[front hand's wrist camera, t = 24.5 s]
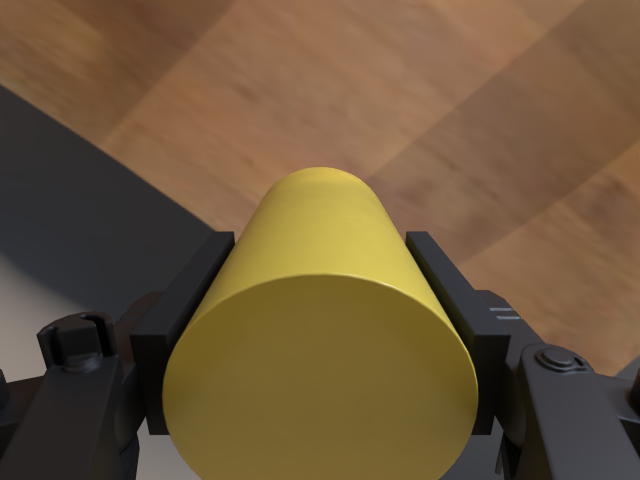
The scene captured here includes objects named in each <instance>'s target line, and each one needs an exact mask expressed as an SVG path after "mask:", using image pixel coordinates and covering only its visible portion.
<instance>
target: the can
mask: <svg viewBox="0 0 640 480" xmlns="http://www.w3.org/2000/svg"><path fill="white" fill-rule="evenodd" d="M162 402H163V413H164V417H165V422H166V426H167V429H168V431H169V434H170V436H171V439H172V441H173V443H174V445H175V447H176V448H177V450H178V452H179V453H180V455H181V457H182V458H183V459H184V460H185V462H186V463H187V464H188V465H189V467H190V468H191V469H192V470H193V471H194V472H195V473H196V474H197V475H198V476H199V477H200V478H201V479H202V480H438V479H439V478H440V477H442V476H443V475H444V474H445V473H446V472H447V470H448V469H449V468H450V467H451V466H452V465H453V464H454V463H455V461H456V460H457V458H458V457H459V455H460V454H461V452H462V451H463V450H464V448H465V446H466V444H467V442H468V440H469V438H470V435H471V433H472V430H473V427H474V423H475V420H476V415H477V408H478V383H477V378H476V373H475V368H474V366H473V363H472V360H471V358H470V355H469V353H468V351H467V349H466V347H465V345H464V344H463V342H462V340H461V339H460V337H459V335H458V334H457V332H456V330H455V328H454V327H453V325H452V323H451V322H450V320H449V318H448V317H447V315H446V313H445V312H444V310H443V308H442V306H441V305H440V303H439V301H438V300H437V298H436V296H435V295H434V293H433V291H432V289H431V288H430V286H429V284H428V283H427V281H426V279H425V278H424V276H423V274H422V272H421V271H420V269H419V267H418V266H417V264H416V262H415V261H414V259H413V257H412V256H411V254H410V252H409V250H408V249H407V247H406V245H405V244H404V242H403V240H402V239H401V237H400V235H399V233H398V232H397V230H396V228H395V227H394V225H393V223H392V222H391V220H390V218H389V217H388V215H387V213H386V211H385V210H384V208H383V206H382V205H381V203H380V201H379V200H378V198H377V196H376V195H375V194H374V192H373V191H372V190H371V189H370V188H369V187H368V186H367V185H366V184H365V183H364V182H362V181H361V180H360V179H358V178H357V177H355V176H353V175H351V174H349V173H347V172H344V171H341V170H338V169H333V168H325V167H316V168H308V169H303V170H299V171H296V172H294V173H292V174H289V175H287V176H285V177H284V178H282V179H281V180H279V181H278V182H277V183H276V184H274V185H273V186H272V187H271V188H270V189H269V191H268V192H267V193H266V194H265V196H264V197H263V199H262V200H261V202H260V204H259V205H258V207H257V209H256V210H255V212H254V214H253V215H252V217H251V219H250V220H249V222H248V224H247V225H246V227H245V229H244V231H243V232H242V234H241V236H240V237H239V239H238V241H237V242H236V244H235V246H234V247H233V249H232V251H231V252H230V254H229V256H228V258H227V259H226V261H225V263H224V264H223V266H222V268H221V269H220V271H219V273H218V274H217V276H216V278H215V279H214V281H213V283H212V285H211V286H210V288H209V290H208V291H207V293H206V295H205V296H204V298H203V300H202V301H201V303H200V305H199V306H198V308H197V310H196V312H195V313H194V315H193V317H192V318H191V320H190V322H189V323H188V325H187V327H186V328H185V330H184V332H183V333H182V335H181V337H180V339H179V340H178V342H177V344H176V345H175V348H174V350H173V352H172V354H171V356H170V358H169V360H168V364H167V367H166V371H165V375H164V379H163V389H162Z"/></svg>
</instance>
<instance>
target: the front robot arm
mask: <svg viewBox="0 0 640 480" xmlns="http://www.w3.org/2000/svg"><path fill="white" fill-rule="evenodd" d="M405 245H406V247H407V249H408V250H409V252H410V254H411V256H412V257H413V259H414V261H415V262H416V264H417V266H418V267H419V269H420V271H421V272H422V274H423V276H424V278H425V279H426V281H427V283H428V284H429V286H430V288H431V289H432V291H433V293H434V295H435V296H436V298H437V300H438V301H439V303H440V305H441V306H442V308H443V310H444V312H445V313H446V315H447V317H448V318H449V320H450V322H451V323H452V325H453V327H454V328H455V330H456V332H457V334H458V335H459V337H460V339H461V340H462V342H463V344H464V345H465V347H466V349H467V351H468V353H469V355H470V358H471V360H472V363H473V366H474V368H475V373H476V378H477V383H478V408H477V415H476V420H475V423H474V427H473V430H472V433H471V435H491V431H492V426H493V421H494V416H496V418H497V420H498V421H499V423H500V425H501V427H502V428H503V430H504V431H503V436H502V441H501V445H500V450H499V454H498V459H497V463H496V469H495V473H496V474H501V469H502V466H503V471H504V479H505V480H640V368H639V370H638V373H637V376H636V378H635V381H630V380H625V379H620V378H615V377H610V376H605V375H600V374H596V373H595V372H594V370H593V368H592V367H591V366H590V364H589V363H588V362H587V361H586V360H585V359H583V358H582V357H580V356H579V355H577V354H576V353H574V352H572V351H569V350H567V349H565V348H563V347H559V346H555V345H551V344H545V342H544V341H543V340H542V339H541V338H540V337H539V336H538V335H537V334H536V333H535V332H534V331H533V330H532V329H531V327H530V326H529V325H528V324H527V323H526V322H525V321H524V320H523V319H521V317H520V316H519V315H518V313H517V312H516V311H513V308H512V307H511V306H510V305H509V304H508V303H507V302H506V301H505V299H503V298H502V297H500V296H498V295H496V294H495V293H493V292H491V291H489V290H474V289H473V287H472V286H471V285H470V284H469V282H468V281H467V280H466V279H465V278H464V276H463V275H462V274H461V273H460V271H459V270H458V269H457V268H456V267H455V265H454V264H453V263H452V262H451V260H450V259H449V258H448V257H447V256H446V254H445V253H444V252H443V251H442V249H441V248H440V247H439V246H438V245H437V243H436V242H435V241H434V240H433V238H432V237H431V236H430V235H429V234H428V232H406V242H405ZM234 246H235V239H234V232H213V233H212V234H211V235H210V236H209V238H208V239H207V240H206V241H205V242H204V244H203V245H202V246H201V247H200V249H199V250H198V251H197V252H196V253H195V255H194V256H193V257H192V258H191V260H190V261H189V262H188V263H187V264H186V266H185V267H184V268H183V269H182V271H181V272H180V273H179V274H178V276H177V277H176V278H175V279H174V280H173V282H172V283H171V284H170V285H169V287H168V288H167V289H166V290H165V291H153V292H150V293H148V294H146V295H145V296H143V297H141V298H139V299H138V300H136V301H135V302H134V304H133V305H132V306H131V307H130V308H129V309H128V310H127V312H125V313H124V314H123V315H122V317H121V318H120V320H119V321H117V322H116V323H115V324H114V325H113V323H112V319H111V317H110V316H109V315H108V314H106V313H102V312H96V311H94V312H82V313H77V314H73V315H69V316H66V317H63V318H61V319H58V320H55V321H54V322H52V323H50V324H49V325H47V326H45V327H44V328H43V329H42V330H41V331H40V332H39V333H38V334H37V338H38V342H39V345H40V348H41V351H42V355H43V358H44V361H45V364H46V368H47V370H46V372H45V374H44V375H43V376H40V377H35V378H29V379H24V380H19V381H14V382H9V383H6V380H5V377H4V374H3V372H2V370H1V369H0V480H136V472H137V465H138V457H139V449H140V448H139V441H138V436H137V431H138V429H139V427H140V426H141V424H142V422H143V420H144V418H145V417H146V420H147V425H148V429H149V434H150V435H170V434H169V431H168V429H167V426H166V422H165V417H164V413H163V402H162V389H163V379H164V375H165V371H166V367H167V364H168V360H169V358H170V356H171V354H172V352H173V350H174V348H175V345H176V344H177V342H178V340H179V339H180V337H181V335H182V333H183V332H184V330H185V328H186V327H187V325H188V323H189V322H190V320H191V318H192V317H193V315H194V313H195V312H196V310H197V308H198V306H199V305H200V303H201V301H202V300H203V298H204V296H205V295H206V293H207V291H208V290H209V288H210V286H211V285H212V283H213V281H214V279H215V278H216V276H217V274H218V273H219V271H220V269H221V268H222V266H223V264H224V263H225V261H226V259H227V258H228V256H229V254H230V252H231V251H232V249H233V247H234Z"/></svg>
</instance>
